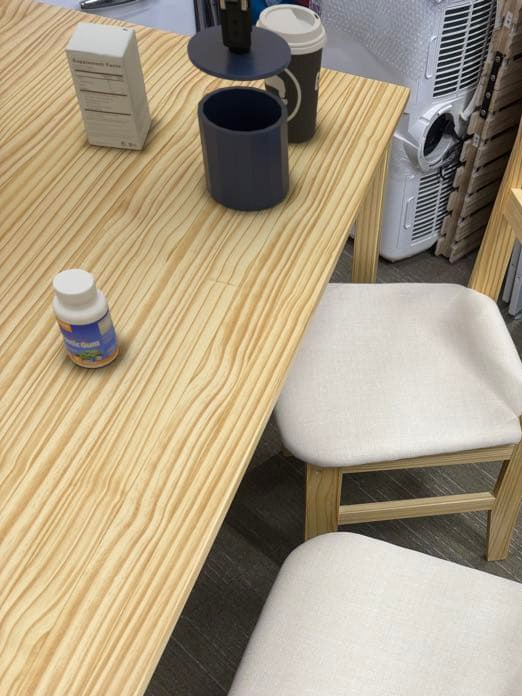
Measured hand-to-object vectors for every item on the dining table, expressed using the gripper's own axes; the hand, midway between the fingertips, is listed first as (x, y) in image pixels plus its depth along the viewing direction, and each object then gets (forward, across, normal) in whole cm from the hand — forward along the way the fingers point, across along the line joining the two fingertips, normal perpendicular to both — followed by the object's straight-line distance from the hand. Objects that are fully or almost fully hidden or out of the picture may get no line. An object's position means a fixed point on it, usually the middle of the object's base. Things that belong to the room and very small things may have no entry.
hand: (237, 37), depth 90 cm
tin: (+19, 0, 0) cm, 19 cm away
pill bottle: (+19, +32, -16) cm, 41 cm away
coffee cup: (+19, -14, +6) cm, 24 cm away
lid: (+2, 0, 0) cm, 2 cm away
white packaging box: (+19, -11, -18) cm, 29 cm away
